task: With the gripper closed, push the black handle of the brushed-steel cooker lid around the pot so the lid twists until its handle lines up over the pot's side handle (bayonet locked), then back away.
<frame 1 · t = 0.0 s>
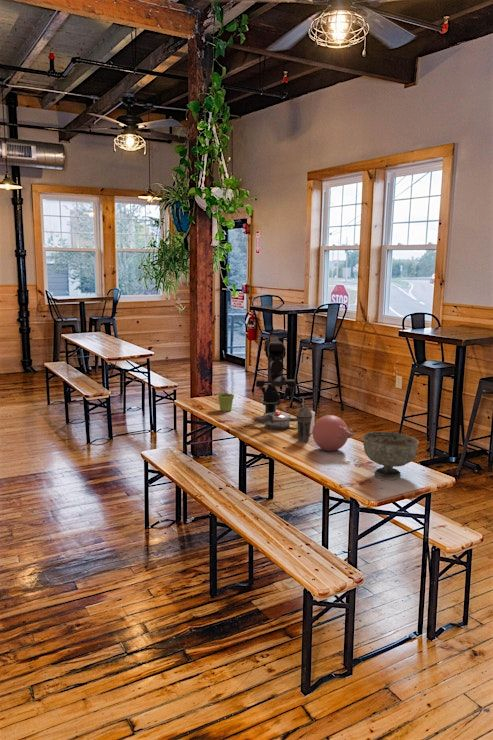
hand: (275, 400, 281), 15 cm above the table, tool pointing down, fingers open, 9 cm apart
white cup: (306, 432, 280), on the table
bowl: (388, 475, 223), on the table
balloon: (333, 451, 251), on the table
beverage cup: (303, 441, 266), on the table
pot: (277, 426, 289), on the table
plant pot: (225, 411, 321), on the table
lid: (272, 416, 285), point 6 cm above the table, hinge at 50.0°
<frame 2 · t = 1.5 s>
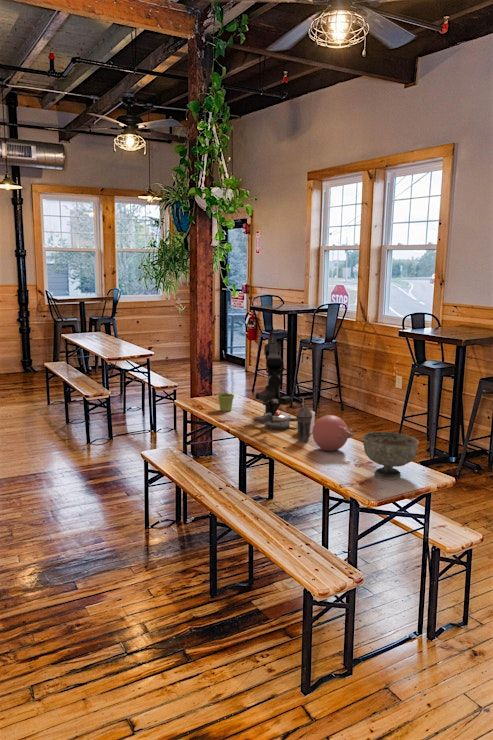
hand: (273, 415, 276), 9 cm above the table, tool pointing down, fingers closed
nothing on the table moved.
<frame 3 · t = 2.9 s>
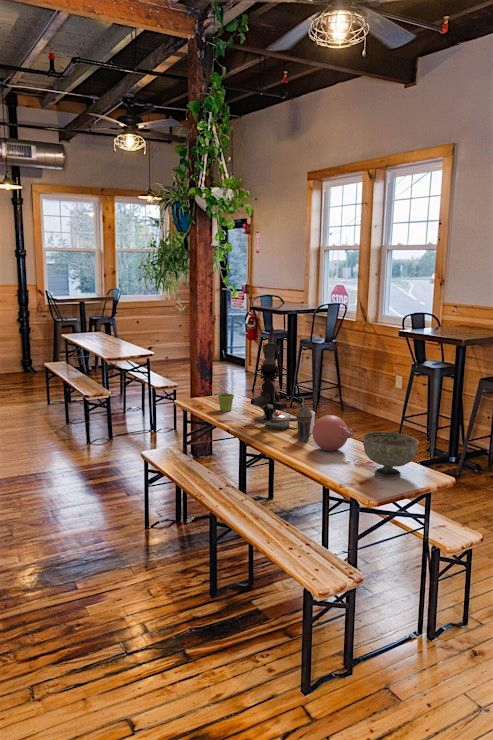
hand: (268, 421, 279), 5 cm above the table, tool pointing down, fingers closed
lid: (272, 416, 285), point 6 cm above the table, hinge at 49.8°, touching gripper
everything else where it was.
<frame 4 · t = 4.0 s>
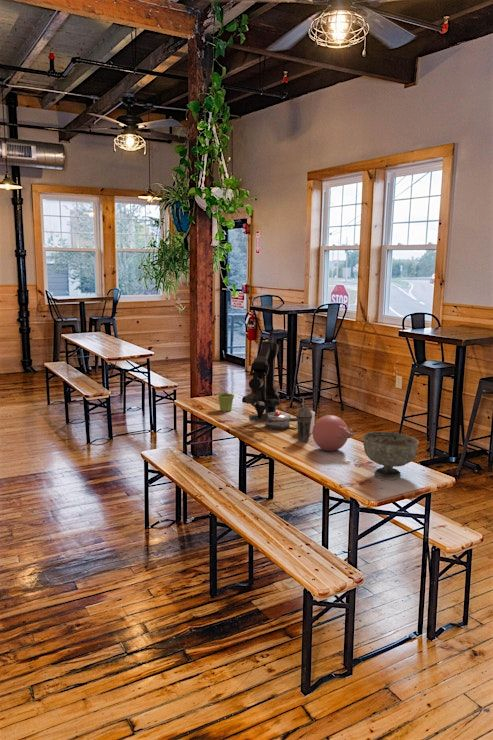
hand: (260, 418, 282), 6 cm above the table, tool pointing down, fingers closed
lid: (269, 415, 287), point 6 cm above the table, hinge at 21.6°, touching gripper
everything else where it was.
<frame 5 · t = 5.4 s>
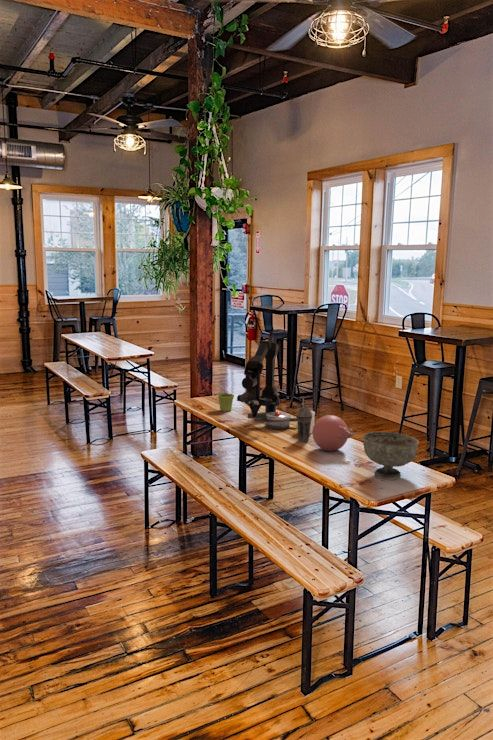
hand: (254, 417, 285), 6 cm above the table, tool pointing down, fingers closed
lid: (269, 415, 288), point 6 cm above the table, hinge at 5.0°, touching gripper
everything else where it was.
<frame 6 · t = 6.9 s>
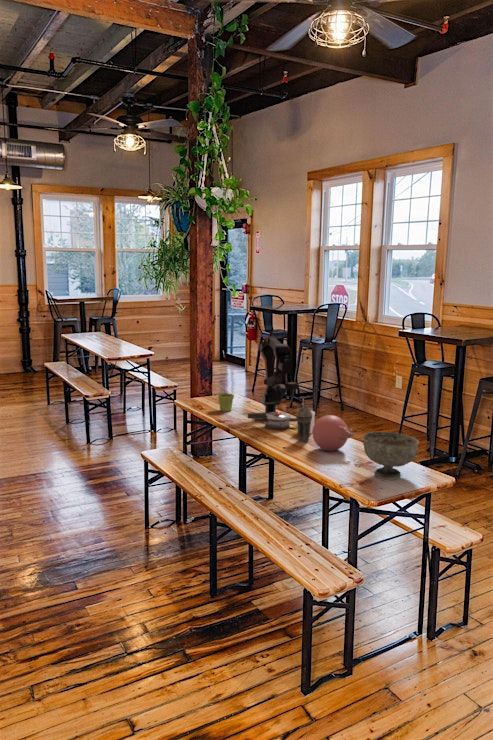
hand: (280, 400, 292), 12 cm above the table, tool pointing down, fingers closed
lid: (269, 415, 288), point 6 cm above the table, hinge at 4.9°
everything else where it was.
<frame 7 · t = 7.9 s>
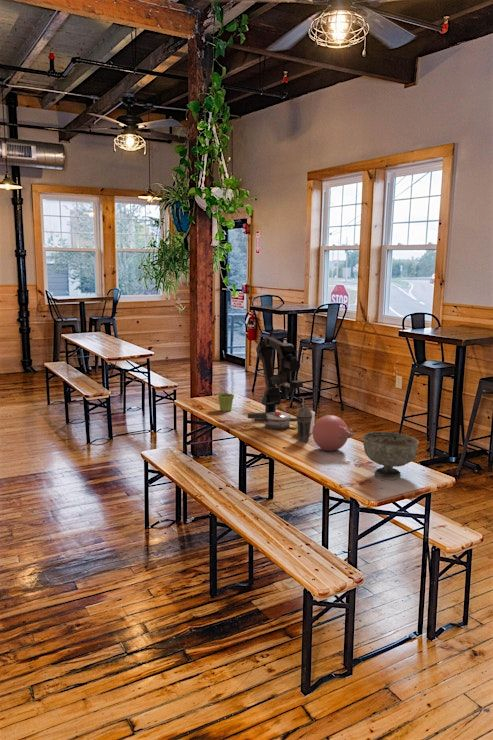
hand: (284, 399, 294), 13 cm above the table, tool pointing down, fingers closed
nothing on the table moved.
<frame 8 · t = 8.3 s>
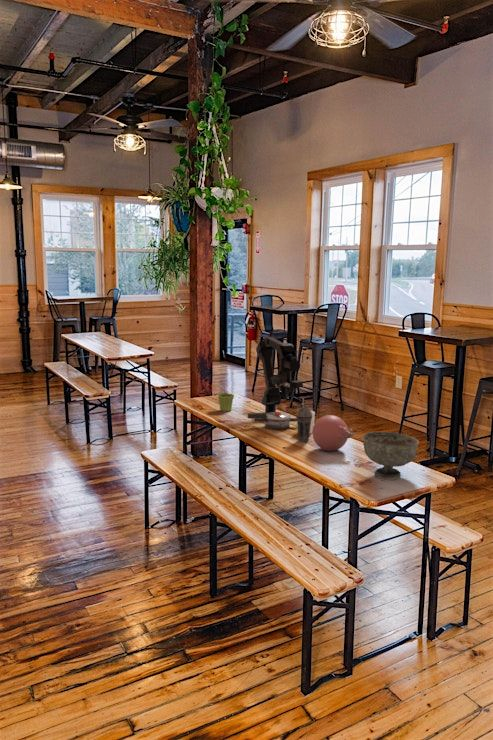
hand: (284, 399, 294), 13 cm above the table, tool pointing down, fingers closed
nothing on the table moved.
at the end: lid at +5° (first picture: +50°) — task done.
